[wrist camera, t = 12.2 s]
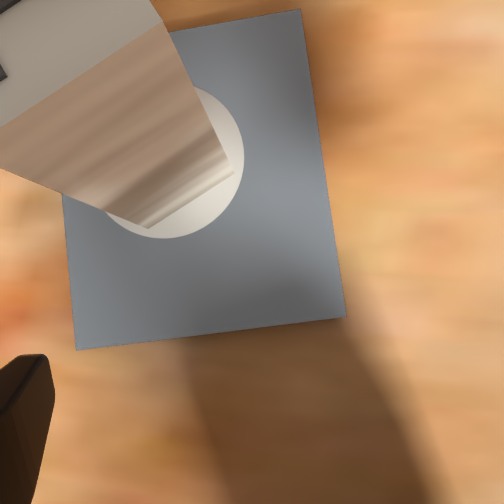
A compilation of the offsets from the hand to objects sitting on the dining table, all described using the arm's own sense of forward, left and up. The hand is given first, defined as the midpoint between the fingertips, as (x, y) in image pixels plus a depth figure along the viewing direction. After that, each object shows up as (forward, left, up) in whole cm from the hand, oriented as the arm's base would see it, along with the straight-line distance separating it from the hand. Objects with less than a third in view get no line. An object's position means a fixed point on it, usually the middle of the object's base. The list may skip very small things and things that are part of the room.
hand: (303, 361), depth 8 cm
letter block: (+8, +5, -10) cm, 14 cm away
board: (+7, +4, -12) cm, 14 cm away
